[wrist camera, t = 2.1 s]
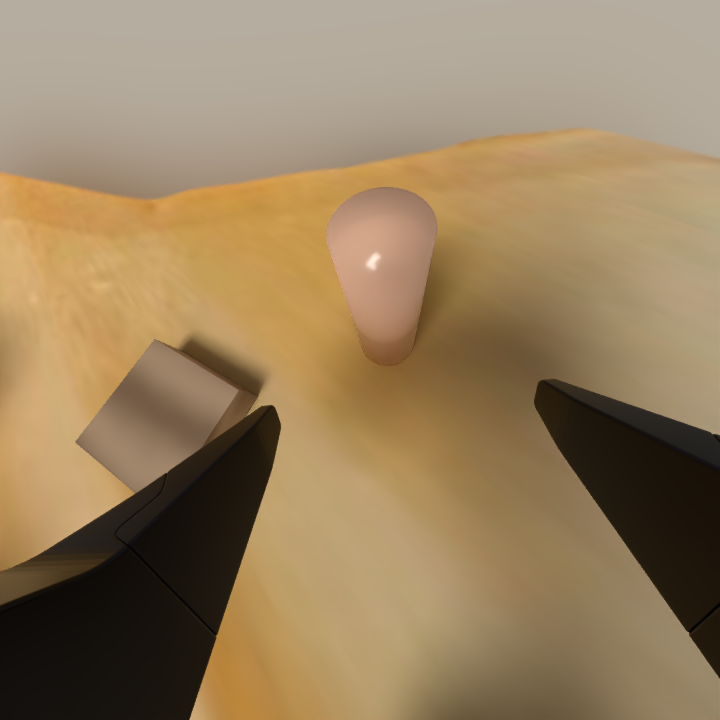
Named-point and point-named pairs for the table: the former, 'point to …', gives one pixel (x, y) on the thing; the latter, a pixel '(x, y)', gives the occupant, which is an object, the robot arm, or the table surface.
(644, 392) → the table surface
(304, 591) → the table surface
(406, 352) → the pillar
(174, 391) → the base
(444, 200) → the table surface
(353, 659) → the table surface
